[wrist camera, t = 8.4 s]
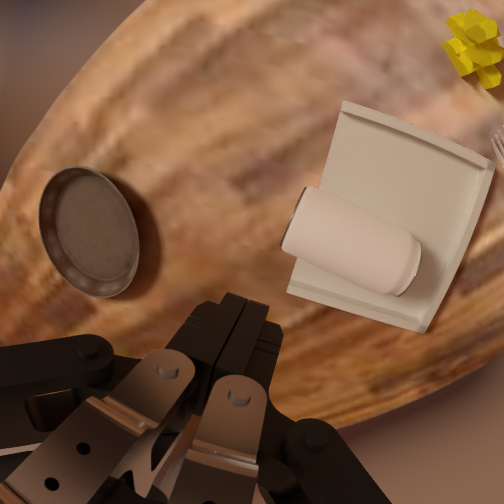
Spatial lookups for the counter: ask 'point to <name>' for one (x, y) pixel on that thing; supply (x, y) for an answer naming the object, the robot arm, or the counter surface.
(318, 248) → the can
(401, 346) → the counter surface
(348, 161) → the tray
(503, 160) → the fork
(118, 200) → the plant saucer
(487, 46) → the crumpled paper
